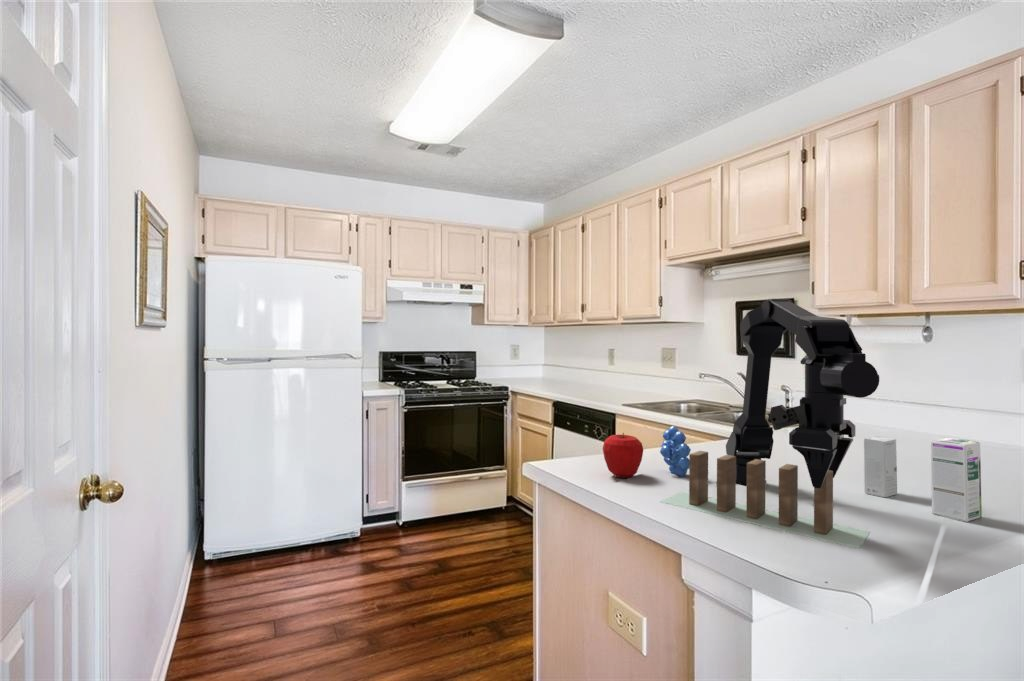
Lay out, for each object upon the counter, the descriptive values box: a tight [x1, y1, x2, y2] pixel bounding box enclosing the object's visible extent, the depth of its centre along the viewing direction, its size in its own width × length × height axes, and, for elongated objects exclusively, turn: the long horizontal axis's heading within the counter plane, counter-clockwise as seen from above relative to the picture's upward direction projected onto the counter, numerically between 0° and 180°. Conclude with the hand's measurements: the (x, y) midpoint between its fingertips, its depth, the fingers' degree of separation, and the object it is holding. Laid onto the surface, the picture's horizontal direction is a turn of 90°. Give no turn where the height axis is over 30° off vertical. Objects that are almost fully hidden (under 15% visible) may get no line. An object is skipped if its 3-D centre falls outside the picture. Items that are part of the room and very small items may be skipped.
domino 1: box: [688, 450, 709, 506], centre depth 104 cm, size 2×5×10 cm, turn 137°
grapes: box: [659, 425, 692, 477], centre depth 128 cm, size 12×7×12 cm, turn 11°
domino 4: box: [778, 463, 799, 527], centre depth 93 cm, size 2×5×10 cm, turn 137°
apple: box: [602, 432, 644, 479], centre depth 126 cm, size 10×10×11 cm
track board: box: [659, 491, 871, 549], centre depth 97 cm, size 10×34×1 cm, turn 47°
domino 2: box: [716, 454, 737, 513], centre depth 100 cm, size 2×5×10 cm, turn 137°
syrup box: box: [930, 437, 983, 523], centre depth 99 cm, size 6×6×14 cm
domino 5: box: [813, 470, 834, 535], centre depth 89 cm, size 2×5×10 cm, turn 136°
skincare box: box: [863, 436, 898, 498], centre depth 114 cm, size 6×4×12 cm
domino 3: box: [746, 459, 767, 520], centre depth 97 cm, size 2×5×10 cm, turn 137°
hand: (823, 482), depth 89 cm, fingers open, 9 cm apart
